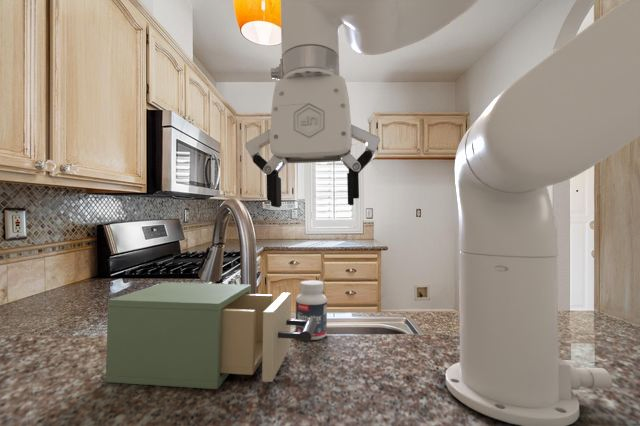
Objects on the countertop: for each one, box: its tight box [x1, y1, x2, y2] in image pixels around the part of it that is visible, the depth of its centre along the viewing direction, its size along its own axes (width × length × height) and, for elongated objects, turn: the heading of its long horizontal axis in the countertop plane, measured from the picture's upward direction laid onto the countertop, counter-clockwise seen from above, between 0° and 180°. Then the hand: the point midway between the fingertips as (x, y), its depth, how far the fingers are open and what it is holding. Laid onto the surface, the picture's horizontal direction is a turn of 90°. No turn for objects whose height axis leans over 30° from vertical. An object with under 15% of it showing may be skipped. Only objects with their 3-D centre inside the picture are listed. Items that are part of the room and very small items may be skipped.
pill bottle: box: [294, 279, 328, 341], centre depth 54 cm, size 5×5×9 cm
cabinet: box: [105, 281, 252, 390], centre depth 43 cm, size 14×12×10 cm
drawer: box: [220, 292, 317, 383], centre depth 42 cm, size 17×10×8 cm, turn 84°
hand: (313, 205), depth 41 cm, fingers open, 9 cm apart
